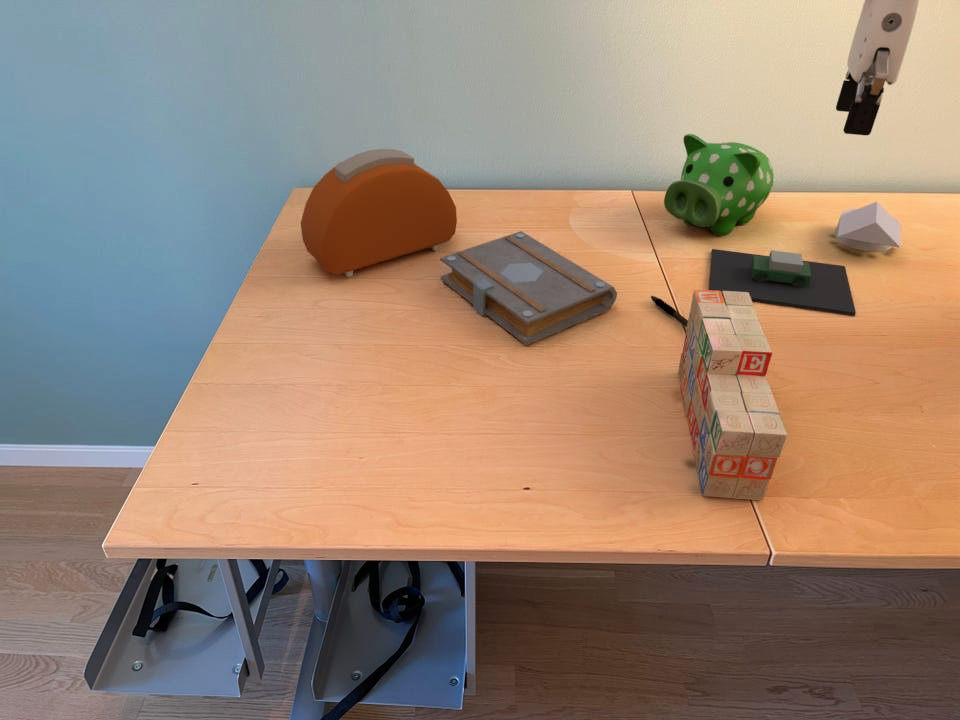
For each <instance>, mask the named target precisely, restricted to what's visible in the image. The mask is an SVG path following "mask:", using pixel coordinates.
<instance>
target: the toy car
mask: <svg viewBox="0 0 960 720" xmlns="http://www.w3.org/2000/svg"><path fill="white" fill-rule="evenodd" d="M768 256H769V257H763V256H755V255H753V258H752V262H751V278H755V280H756V281H757V282H759V283H764V282H766V281H767V280H771V281H778V282H786V283H792V285H793V286H794V287H796V288H800V287H803V286H804V285H809V282H810V278H811V272H810V267H809V262H803V261H804V260H803V254H802V253H796V252H790V251H783V250H782V251H781V250H772V249H771V250H770V251H769V255H768Z"/></svg>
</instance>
